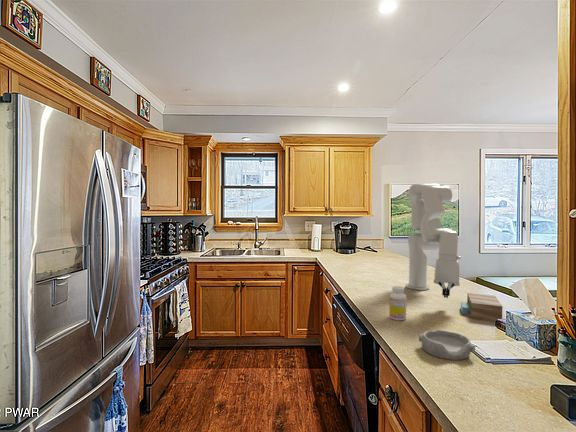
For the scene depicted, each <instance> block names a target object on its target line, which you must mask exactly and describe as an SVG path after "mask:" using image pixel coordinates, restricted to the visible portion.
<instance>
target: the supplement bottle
mask: <svg viewBox="0 0 576 432" xmlns="http://www.w3.org/2000/svg"><path fill="white" fill-rule="evenodd" d="M391 287H392V288H391V291H392V292H390V294H389V318H390V319H392V320H395V321H404V320H406V319H407V295H406V293H404V292H405V288H404V286H397V285H395V286H391Z"/></svg>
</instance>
